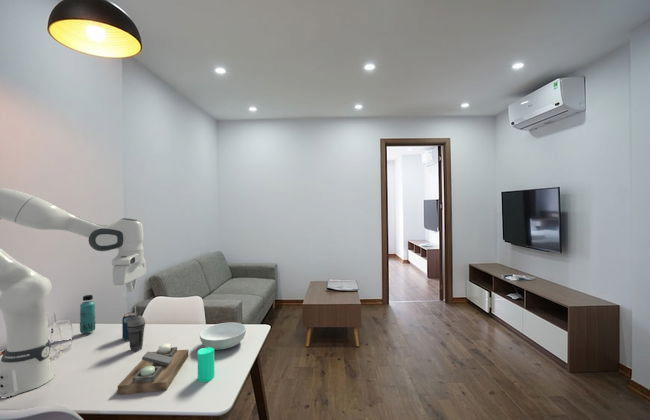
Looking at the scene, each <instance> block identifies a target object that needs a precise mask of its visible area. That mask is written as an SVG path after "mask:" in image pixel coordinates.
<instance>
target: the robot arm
mask: <svg viewBox="0 0 650 420" xmlns="http://www.w3.org/2000/svg"><path fill="white" fill-rule="evenodd" d="M1 219H2V220H6V221H8V222H11V223H15V224H17V225H20V226H24V227H27V228H31V229H37V230H41V231H42V230H43V231H44V230H59V231H60V230H61V231H65V232H71V233H73V234H77V235H79V236H83V237H85V238H88V245H89V246H90V247H91V248H92V249H93V250H95V251H98V252H108V251H112V250H115V249H116V250H117V251H118V254H117V255H116V256H115V257H114V258H112V260H111V265H112V266H113V267H112V283H113V285H115V286H123V285H125V286H126V289H127V292H128V293H130V292H132V291H135V290H136V285H137V282H138V279H139V278H141V277H143V276H146V274H147V270H148V269H147V261H146V259H145V257H144V256H145V253H144V249H145V248H144V240H145V239H144V236H145V235H144V227H143V225H144V224H143V223H142V222H141V221H140V220H138V219H135V218H127V217H123V218H120V219H119V220H117V221H115V222H113V223H111V224H108V225H107V224H106V225H101V224H98V223H94V222H92V221H90V220H86V219H84V218H81V217H80V216H79V217H78V216H77V215H76V216H75V215H73V214H71V213H70V212H67V211H65V210H64V209H63V208H60V207H59V206H57V205H55V204H53V203H51V202H49V201H47V200H45V199H43V198H41V197H38V196H36V195H32V194H30V193H27V192H24V191H20V190H16V189H12V188H8V187H0V220H1ZM52 286H53V285H52V282H51V280H50V279H49V278H48V277H46V276H43V275H41V274H40V273H38V272H37V271H35V270H33V269H31V268H30V267H28V266H27V265H25V264H23V263H21V262H20V261H18V260H17V259H15V258H14V257H12V256H11V255H10V254H8V253H7V252H6V251H5V250H4V249H2V248H1V247H0V292H1V294H0V310H1V313H2V316H3V321H4V323H5V324H4V325H5V330H6V348H5V349H3V350H2V351H0V356H2V357H1V358H0V397H9V398H11V397H10V396H12V397H15V396H16V395H19V394H21V393H25V392H28V391H32V390H34V389H36V388H39V387H41V386H43V385H45V384H47V383H48V382H50V381H52V380H53V378H54V377H55V373H54V371H53V370H54V369H53V368H52V365H51V360H50V352H51V340H50V339H49V319H48V318H47V317H48V316H47V313H46V309H45V299H47V298H48V297H49V296H50V294H51V292H52V288H53V287H52Z"/></svg>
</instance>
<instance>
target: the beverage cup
mask: <svg viewBox="0 0 650 420" xmlns="http://www.w3.org/2000/svg"><path fill="white" fill-rule="evenodd" d="M134 312H135V316H133V317H132V318H130V319H129V321H128V324H127V329H128V333H129V340H128V341H129V347H130V348H129V349H130V352H133V353H134V352H136V353H137V352H139V351H141V350H142V349H143V343H144V333H145V327H146V319H145V318H144V317H143V316H142V315H139V314H138V315H136V312H137V306H136V305H134Z"/></svg>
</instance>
